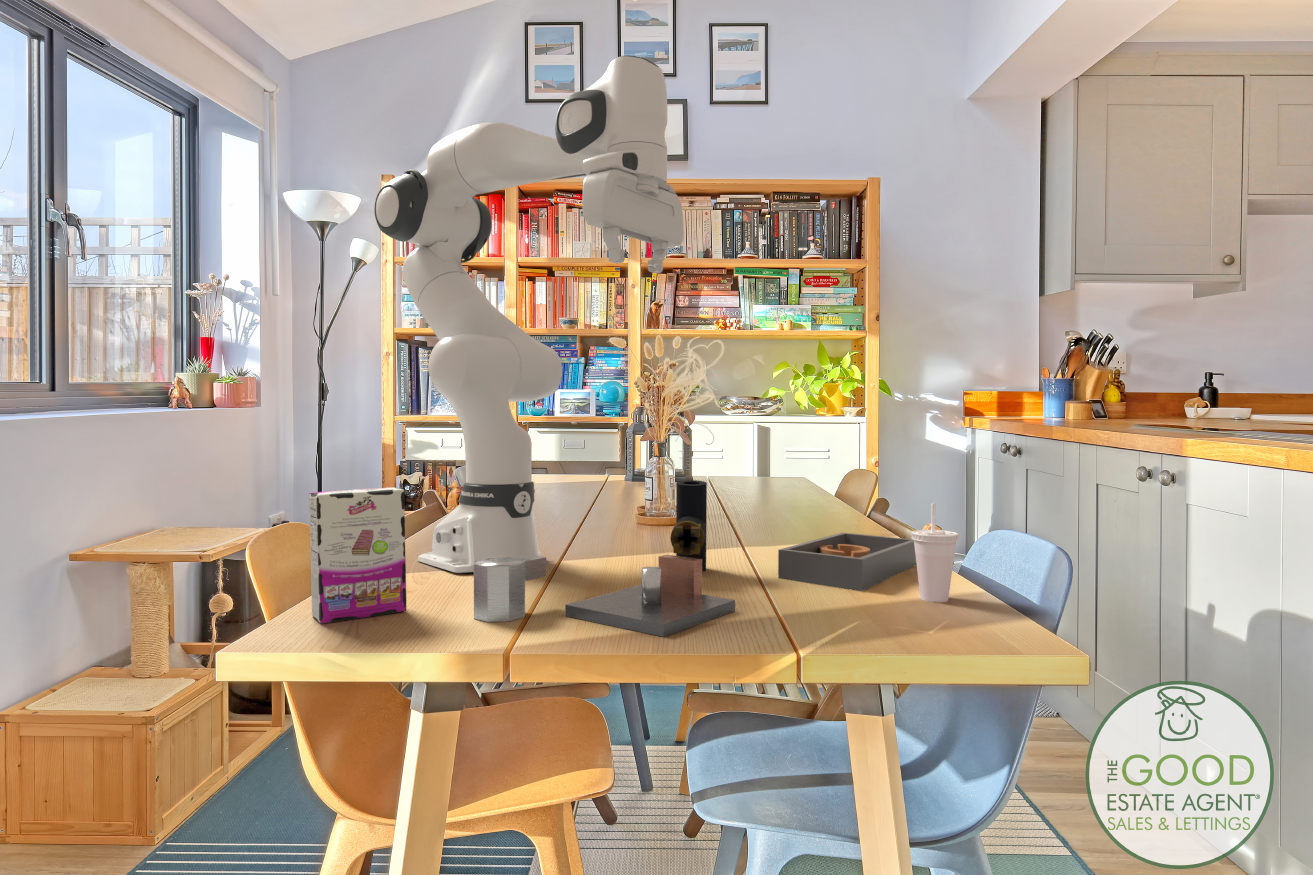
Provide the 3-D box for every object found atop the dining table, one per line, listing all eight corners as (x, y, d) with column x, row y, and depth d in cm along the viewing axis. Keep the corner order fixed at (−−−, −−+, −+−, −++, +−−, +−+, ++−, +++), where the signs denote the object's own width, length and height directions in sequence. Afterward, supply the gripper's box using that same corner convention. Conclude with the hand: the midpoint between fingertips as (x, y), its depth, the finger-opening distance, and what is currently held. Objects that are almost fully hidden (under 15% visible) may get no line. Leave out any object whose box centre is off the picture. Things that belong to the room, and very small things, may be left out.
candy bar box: (395, 604, 111) (394, 486, 110) (407, 612, 107) (406, 489, 106) (309, 616, 104) (307, 490, 104) (318, 624, 100) (317, 493, 100)
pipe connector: (703, 588, 125) (703, 493, 123) (669, 587, 125) (669, 492, 123) (707, 567, 136) (708, 480, 134) (676, 566, 137) (677, 479, 135)
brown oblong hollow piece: (876, 594, 132) (877, 552, 131) (827, 594, 131) (828, 552, 131) (841, 572, 150) (842, 535, 149) (798, 572, 149) (798, 535, 149)
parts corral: (778, 580, 127) (778, 549, 127) (842, 559, 147) (842, 532, 146) (861, 592, 119) (862, 559, 119) (918, 568, 138) (918, 539, 138)
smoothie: (902, 600, 114) (903, 502, 114) (923, 593, 119) (924, 499, 119) (945, 607, 110) (947, 505, 110) (965, 600, 114) (967, 502, 114)
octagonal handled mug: (464, 616, 104) (464, 562, 104) (523, 601, 113) (523, 552, 113) (497, 624, 101) (497, 568, 100) (556, 608, 109) (556, 557, 109)
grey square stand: (565, 616, 105) (565, 566, 105) (641, 594, 117) (641, 550, 117) (663, 636, 95) (663, 582, 95) (735, 610, 108) (735, 562, 108)
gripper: (660, 192, 127) (660, 279, 128) (574, 158, 111) (574, 259, 111) (693, 185, 124) (693, 275, 124) (610, 149, 107) (610, 253, 107)
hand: (636, 267), depth 117 cm, fingers open, 8 cm apart
